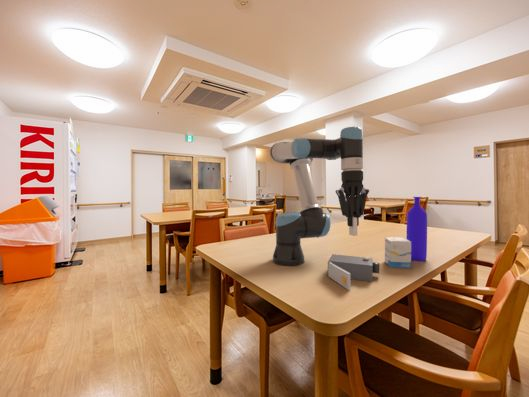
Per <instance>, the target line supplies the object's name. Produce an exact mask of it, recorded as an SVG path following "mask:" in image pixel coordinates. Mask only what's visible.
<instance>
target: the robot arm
mask: <svg viewBox="0 0 529 397" xmlns="http://www.w3.org/2000/svg"><path fill="white" fill-rule="evenodd" d="M363 145H364V137H363V129H362V127H359V126H347V127H343V128H342V129H341V130H340V135H339V138H336V139H327V138H326V139H321V138H306V137H298V138H297V137H296V138H294V140H293V141H291V142H290V141H287V142H286V141H281V142H275V143H274V144H273V145H272V146H271V147H270V150H269V154H270V157H271V159H272V160H273V161H274V162H276V163H279V164H289V166H290V169H292V170H293V172H294V178H295V183H296V188H297V192H298V197H299V202H300V208H301V210H300V211H287V212H283V213H279V214H277V215H276V217H275V241H276V242H275V244H276V245H275V248H274V251H273V254H272V262H273V263H274V264H277V265H280V266H287V267H288V266H289V267H293V266H298V265H301V264H304V262H305V255H304V252H303V248H302V245H301V239H310V238H321V237H322V238H323V237H326V236H327V235H328V234H329V232H330V229H331V224H332V223H331V218H330V216H329V214H328V213H326V212H324V210H323V207H321V206H320V205H319V202H318V198H317V193H316V189H315V185H314V181H313V178H312V177H313V176H312V173H311V169H310V166H311V165H312V162H313V159H324V160H327V161H334V160H338V159H340V170H341V174H340V175H341V183H342V184H341V187H340V188H339V189H336V190H335V194H336V196H337V197H338V202H339V207H340V212H341V214H342V216H343V217H345V218H347V226H348V230H349V231H348V232H349V233H348V235H349V236H354V237H355V236H356V237H357V236H358V227H359V224H360V222H359V220H360V219H359V218H361V217H362V216H364V213H365V209H366V208H365V207H366V203H367V199H368V196H369V195H368V194H369V193H370V190H369V189H367V188H365V187H364V183H363V181H364V171H363V170H364V150H363V149H364V146H363Z"/></svg>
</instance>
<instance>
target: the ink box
mask: <svg viewBox="0 0 529 397" xmlns="http://www.w3.org/2000/svg"><path fill="white" fill-rule="evenodd" d="M384 262H385V264H386V265H388V266H389V267H390V268H399V269H400V268H401V269H411V268H412V260H411V242H410V241H409V240H407V238H405V237H398V236H397V237H395V236H391V237H390V236H389V237H384Z"/></svg>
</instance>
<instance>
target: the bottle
mask: <svg viewBox="0 0 529 397" xmlns="http://www.w3.org/2000/svg"><path fill="white" fill-rule="evenodd" d="M412 197H413V199H414V205H413V206H412V207H411V208H410V209H409V210H408V211H407V214H406V239H407V240H409V241H410V242H411V261H414V262H425V261H426V260H427V253H428V252H427V251H428V214H427V212H426V210H425V209H424V208H423V207H422V206H421V204H420V199H421V196H412Z"/></svg>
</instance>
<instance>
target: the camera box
mask: <svg viewBox="0 0 529 397" xmlns="http://www.w3.org/2000/svg"><path fill="white" fill-rule="evenodd" d="M373 260H374V259H373V257H367V256H354V255H342V254H335V253H334V254H333V253H332V254H331V255H330V257H329V259H328V261H327V263H328V262H331V263H333V264H334V265H336V266H338V267H340V268H342V269H343V270H345V271H347V272H349V273H350V274H351V280H352V279H353V280H356V281H357V280H359V281H366V282H373V274H378V275H380V262H374V261H373Z"/></svg>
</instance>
